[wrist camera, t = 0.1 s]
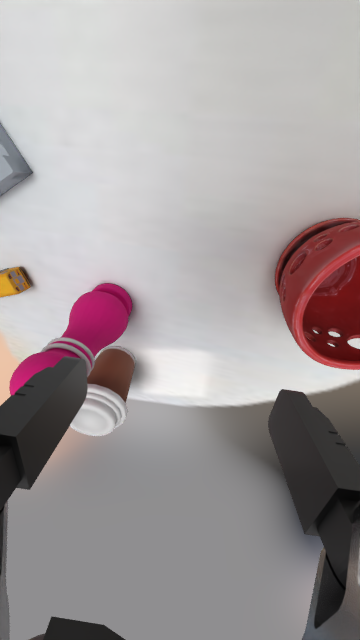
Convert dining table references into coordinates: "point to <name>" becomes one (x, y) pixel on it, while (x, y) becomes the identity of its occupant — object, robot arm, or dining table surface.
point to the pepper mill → (82, 332)
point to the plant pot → (323, 291)
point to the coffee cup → (106, 393)
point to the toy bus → (12, 282)
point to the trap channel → (10, 163)
